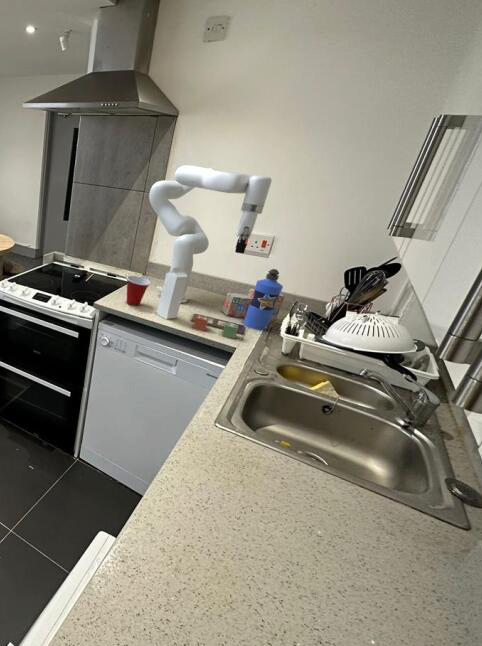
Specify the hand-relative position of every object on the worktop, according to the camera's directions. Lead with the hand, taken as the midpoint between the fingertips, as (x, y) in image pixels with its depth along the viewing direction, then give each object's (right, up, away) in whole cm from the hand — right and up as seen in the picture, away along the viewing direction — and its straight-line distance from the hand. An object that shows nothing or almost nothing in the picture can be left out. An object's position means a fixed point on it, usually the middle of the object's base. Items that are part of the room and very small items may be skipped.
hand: (239, 250), depth 163 cm
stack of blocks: (+13, -27, +15) cm, 34 cm away
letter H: (-18, -32, -2) cm, 37 cm away
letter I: (-8, -35, -7) cm, 37 cm away
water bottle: (+10, -32, +5) cm, 33 cm away
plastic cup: (-39, -22, +19) cm, 48 cm away
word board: (-7, -31, +3) cm, 32 cm away
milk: (-28, -27, +8) cm, 40 cm away
